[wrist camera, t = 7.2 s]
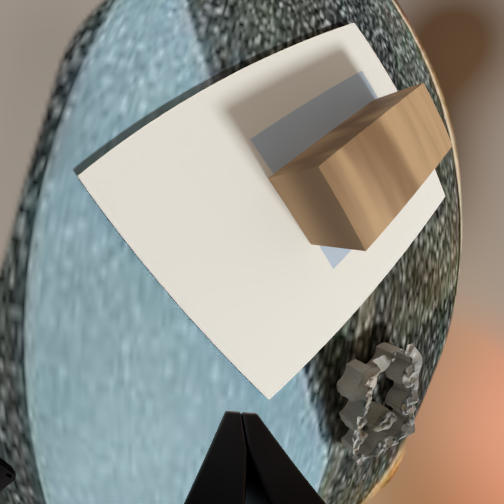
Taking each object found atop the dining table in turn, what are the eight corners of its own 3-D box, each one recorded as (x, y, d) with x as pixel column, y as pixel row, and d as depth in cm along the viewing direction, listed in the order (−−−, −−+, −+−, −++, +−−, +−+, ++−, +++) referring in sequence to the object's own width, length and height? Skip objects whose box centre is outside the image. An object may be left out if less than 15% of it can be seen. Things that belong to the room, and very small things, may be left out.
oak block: (365, 251, 16) (452, 145, 19) (317, 166, 14) (423, 82, 17) (310, 244, 20) (403, 153, 23) (268, 178, 19) (374, 99, 22)
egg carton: (331, 364, 23) (366, 384, 19) (396, 330, 26) (431, 343, 22) (334, 455, 25) (361, 478, 21) (391, 420, 28) (419, 436, 24)
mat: (265, 396, 21) (269, 399, 20) (78, 177, 15) (77, 175, 14) (441, 196, 27) (445, 196, 27) (350, 25, 21) (354, 22, 21)
